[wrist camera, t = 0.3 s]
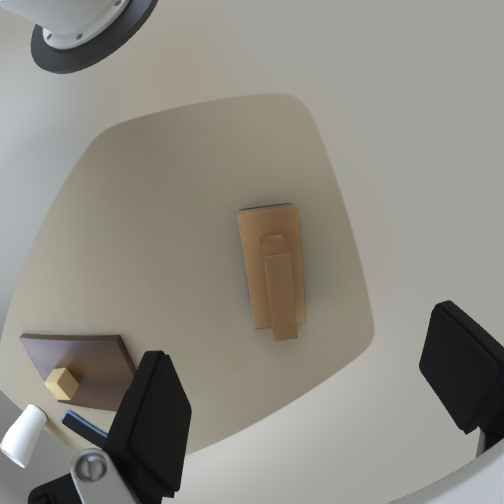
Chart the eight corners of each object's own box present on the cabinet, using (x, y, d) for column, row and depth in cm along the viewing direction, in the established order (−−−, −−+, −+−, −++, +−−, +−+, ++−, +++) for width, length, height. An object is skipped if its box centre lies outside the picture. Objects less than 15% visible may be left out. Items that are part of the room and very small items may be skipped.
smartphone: (66, 411, 34) (134, 452, 38) (68, 408, 35) (135, 449, 39) (59, 422, 36) (121, 460, 39) (61, 419, 37) (122, 457, 40)
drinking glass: (24, 405, 36) (-2, 448, 22) (28, 396, 35) (-1, 444, 21) (47, 424, 38) (24, 469, 24) (53, 417, 37) (27, 467, 23)
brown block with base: (253, 313, 29) (257, 363, 21) (237, 208, 25) (235, 229, 18) (300, 306, 29) (317, 354, 21) (291, 201, 25) (312, 219, 18)
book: (22, 333, 30) (19, 337, 29) (119, 335, 29) (116, 340, 28) (60, 397, 34) (58, 402, 33) (156, 408, 34) (154, 414, 33)
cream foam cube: (53, 368, 30) (43, 382, 27) (66, 367, 30) (56, 382, 27) (66, 385, 31) (57, 399, 28) (79, 384, 31) (70, 400, 28)
